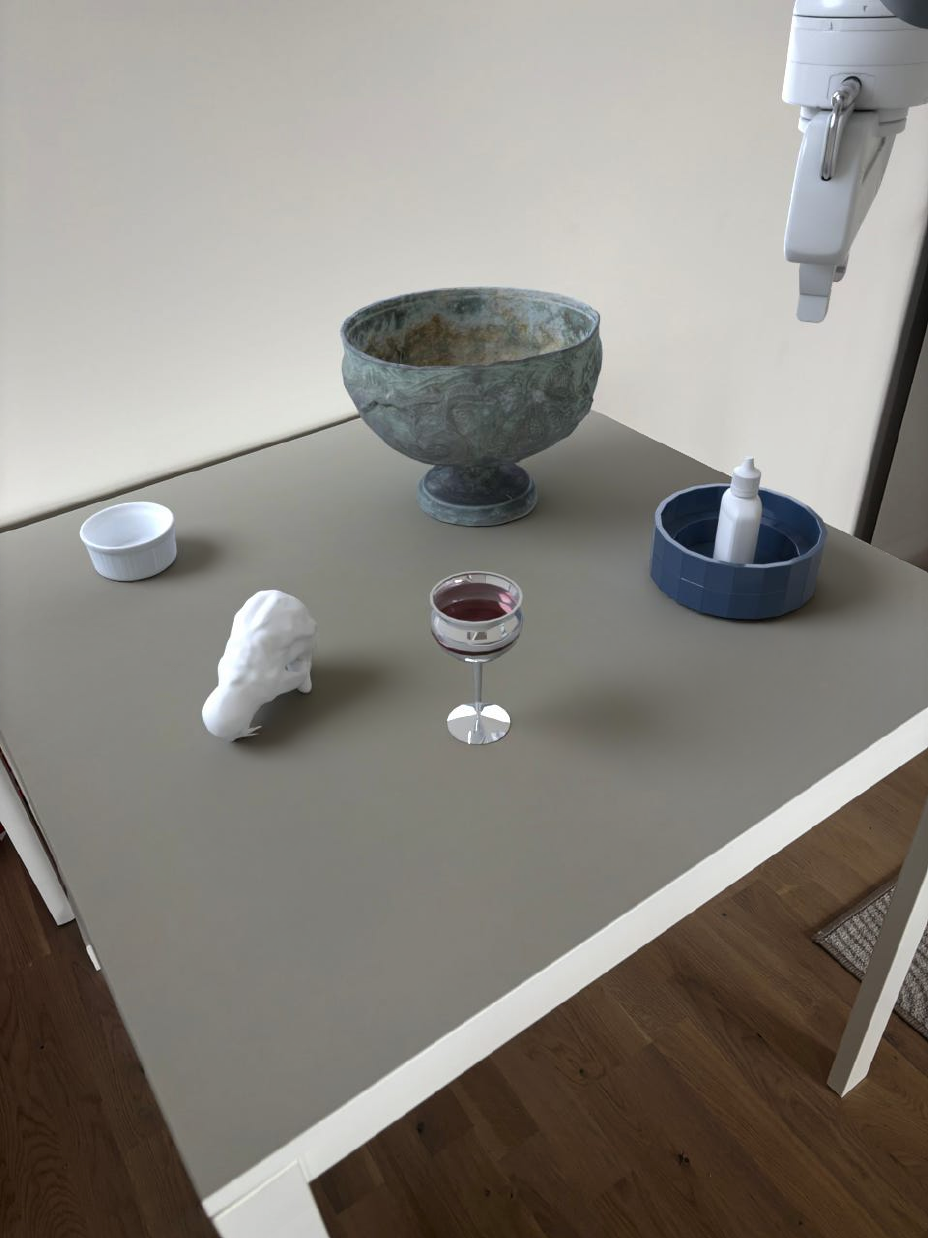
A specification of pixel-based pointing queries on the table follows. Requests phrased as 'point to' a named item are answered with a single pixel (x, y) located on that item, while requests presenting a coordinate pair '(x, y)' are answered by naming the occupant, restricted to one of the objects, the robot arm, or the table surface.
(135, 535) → the ramekin
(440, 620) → the wineglass
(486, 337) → the decorative bowl
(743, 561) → the eye dropper bottle
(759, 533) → the blue bowl
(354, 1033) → the table surface
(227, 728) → the white lumpy figure
